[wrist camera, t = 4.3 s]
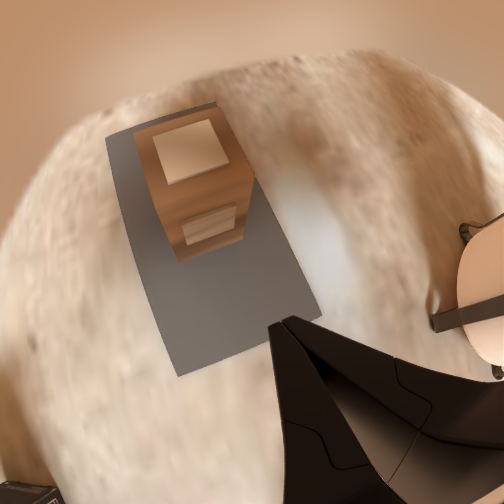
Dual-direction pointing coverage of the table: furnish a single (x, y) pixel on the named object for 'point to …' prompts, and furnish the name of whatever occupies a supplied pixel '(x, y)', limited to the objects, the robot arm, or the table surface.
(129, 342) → the table surface
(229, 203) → the brown rectangular block
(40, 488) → the small box
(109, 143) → the mat
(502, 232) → the coffee press
